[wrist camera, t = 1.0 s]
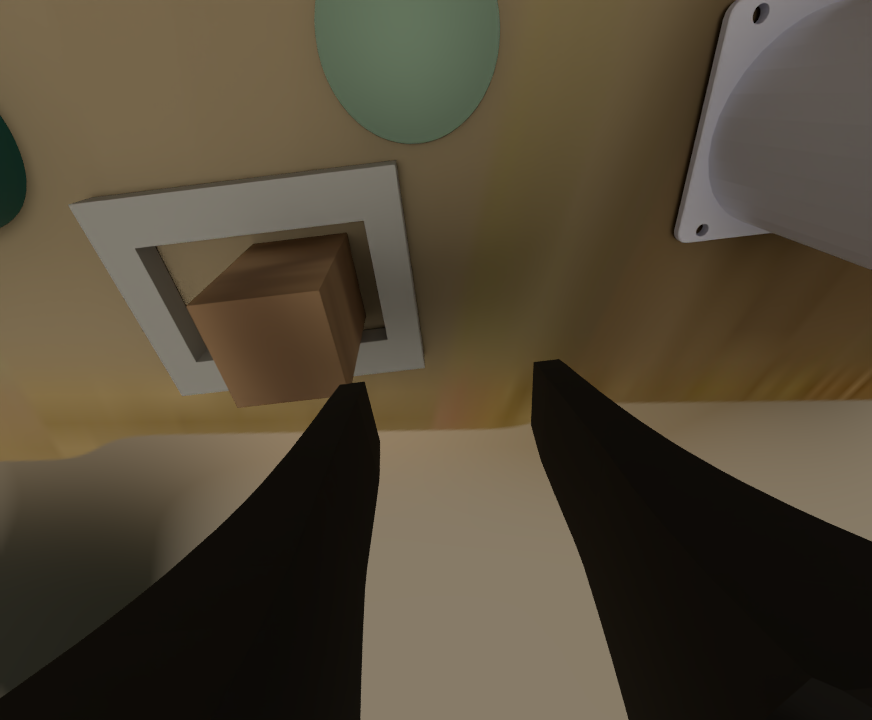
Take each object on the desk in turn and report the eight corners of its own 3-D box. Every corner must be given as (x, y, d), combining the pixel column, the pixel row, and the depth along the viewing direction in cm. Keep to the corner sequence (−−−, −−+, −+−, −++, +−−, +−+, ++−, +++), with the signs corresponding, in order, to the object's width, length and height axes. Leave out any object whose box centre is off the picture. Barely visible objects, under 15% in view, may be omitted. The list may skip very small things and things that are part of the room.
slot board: (396, 160, 15) (394, 164, 14) (423, 354, 20) (424, 368, 19) (90, 198, 15) (68, 204, 14) (193, 381, 20) (182, 395, 19)
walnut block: (346, 232, 17) (318, 290, 12) (365, 316, 19) (349, 395, 14) (253, 243, 17) (186, 306, 12) (283, 326, 19) (237, 407, 14)
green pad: (496, -103, 12) (498, -109, 11) (498, 132, 15) (501, 133, 14) (293, -77, 12) (289, -82, 11) (341, 151, 15) (339, 153, 15)
